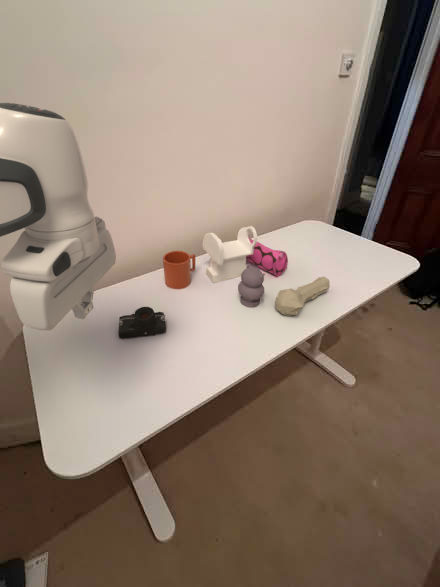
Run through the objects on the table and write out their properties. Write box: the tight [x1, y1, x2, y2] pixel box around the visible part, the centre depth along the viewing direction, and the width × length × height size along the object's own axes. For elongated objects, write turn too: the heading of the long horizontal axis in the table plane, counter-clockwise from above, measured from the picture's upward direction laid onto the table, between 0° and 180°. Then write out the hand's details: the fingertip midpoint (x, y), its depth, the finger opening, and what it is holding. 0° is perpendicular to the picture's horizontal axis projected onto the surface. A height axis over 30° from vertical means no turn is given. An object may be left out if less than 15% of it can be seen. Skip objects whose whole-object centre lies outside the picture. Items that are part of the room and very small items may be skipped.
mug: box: [162, 250, 196, 290], centre depth 101 cm, size 12×9×10 cm
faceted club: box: [274, 276, 331, 316], centre depth 95 cm, size 9×8×25 cm
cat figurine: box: [237, 263, 266, 308], centre depth 92 cm, size 8×8×12 cm
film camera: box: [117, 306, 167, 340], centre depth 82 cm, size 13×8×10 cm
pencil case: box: [246, 234, 289, 277], centre depth 111 cm, size 21×10×10 cm, turn 45°
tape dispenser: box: [202, 225, 258, 284], centre depth 102 cm, size 14×13×18 cm
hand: (84, 313), depth 51 cm, fingers closed
